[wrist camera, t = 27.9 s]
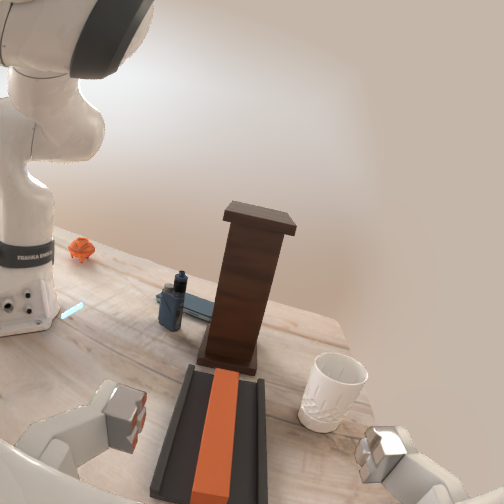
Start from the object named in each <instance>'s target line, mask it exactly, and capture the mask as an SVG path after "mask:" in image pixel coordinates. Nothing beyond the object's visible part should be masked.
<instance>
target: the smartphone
mask: <svg viewBox="0 0 504 504" xmlns="http://www.w3.org/2000/svg"><path fill="white" fill-rule="evenodd" d="M160 299H161V293H160V294H158V295H156V300H157V301H158V302H160ZM213 308H214V303H213V302H210V301H208V300H205V299H202V298H199V297H197V296H194V295H191V294H188V293H186V292H185V300H184V307H183V312H185V313H188V314H190V315H193V316H196V317H198V318H201V319H203V320H206V321H211V318H212V313H213Z"/></svg>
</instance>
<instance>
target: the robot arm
mask: <svg viewBox="0 0 504 504" xmlns="http://www.w3.org/2000/svg"><path fill="white" fill-rule="evenodd" d="M153 10H154V0H0V66H4V67H8V94H9V97H5V98H0V337H1V336H8V335H15V334H22V333H29V332H35V331H42V330H47V329H49V328H50V326H51V323H52V319H53V318H54V317H55V316H56V315H57V314H58V313H59V310H60V304H59V301H58V298H57V294H56V290H55V285H54V278H53V266H52V265H53V264H54V238H53V218H54V207H55V200H54V196H53V194H52V192H51V191H50V189H49V188H47V187H46V186H45V185H44V184H42V183H41V182H39V181H38V180H36V179H35V178H33V177H32V176H31V175H30V174H29V172H28V169H27V163H28V162H29V161H43V162H56V163H70V162H79V161H87V160H89V159H91V158H92V157H93V156H94V155H95V154H96V152H97V151H98V150H99V148H100V146H101V144H102V142H103V139H104V134H105V124H104V120H103V117H102V115H101V113H100V112H99V110H98V109H96V108H95V107H93V106H92V105H90V104H89V103H88V102H87V100H86V99H85V98H84V96H83V95H82V93H81V91H80V87H79V84H80V79H103V78H104V77H107V76H108V75H110V74H112V73H114V72H116V71H117V69H118V67H119V66H120V65H122V64H123V63H124V62H125V61H126V60H127V59H129V58H130V57H131V56H132V55H133V53H134V52H135V51H136V50H137V49H138V47H139V46H140V45H141V43H142V42H143V40H144V38H145V36H146V34H147V32H148V30H149V27H150V25H151V21H152V17H153ZM82 307H83V303H82V302H81V303H80V304H78V305H76V306H75V307H73V308H71V309H69V310H68V311H66V312H64V313H63V314H61V318H62V319H64V318H65V317H67V316H69V315H70V314H72V313H74V312H75V311H77V310H79V309H80V308H82ZM146 398H147V393H146V392H144V391H141V390H138V389H134V388H132V387H129V386H126V385H123V384H120V383H116V382H113V381H111V380H108V379H106V380H104V381H103V382H102V384H101V385H100V387H99V388H98V390H97V391H96V393H95V394H94V396H93V398H92V399H91V401H90V402H89V404H88V405H87V406H84V405H82V406H79V407H77V408H74V409H71V410H69V411H66V412H63V413H61V414H58V415H55V416H52V417H49V418H46V419H44V420H41V421H38V422H35V423H32V424H30V425H29V427H28V428H27V429H26V430H25V432H24V433H23V435H22V436H21V437H20V439H19V440H18V441H17V443H16V444H15V445H14V446H12V445H11V444H9V443H8V442H6V441H4V440H3V439H1V438H0V504H145V503H142V502H138V501H135V500H132V499H129V498H126V497H123V496H120V495H117V494H114V493H111V492H108V491H106V490H103V489H100V488H98V487H95V486H93V485H90V484H88V483H85V482H83V481H80V479H79V476H78V473H77V470H76V468H77V467H79V466H81V465H82V464H84V463H86V462H87V461H89V460H91V459H92V458H94V457H96V456H97V455H99V454H101V453H102V452H104V451H105V450H107V449H109V447H111V448H114V449H117V450H120V451H123V452H127V453H130V454H133V451H134V449H135V446H136V444H137V441H138V434H139V433H141V431H142V428H143V425H144V422H145V417H146V408H145V407H144V405H145V402H146ZM355 459H356V463H357V464H359V465H360V466H361V468H360V470H359V473H360V476H361V480H362V483H381V484H382V485H383V486H384V487H385V488H386V489H387V490H388V491H389V492H390V493H391V494H392V495H393V496H394V497H395V498H396V499H397V500H398V501H399V502H400V503H401V504H504V486H502V487H500V488H497V489H495V490H492V491H490V492H487V493H484V494H481V495H479V496H476V497H473V498H469V496H468V494H467V492H466V490H465V488H464V486H463V484H462V482H461V480H460V479H459V478H458V477H456V476H454V475H453V474H452V473H450V472H449V471H447V470H446V469H444V468H442V467H441V466H439V465H438V464H437V463H435V462H434V461H432V460H431V459H430V458H428V457H426V456H425V455H424V454H422V453H418V451H417V449H416V447H415V445H414V443H413V441H412V439H411V437H410V435H409V433H408V431H407V429H406V428H405V427H404V426H382V427H381V426H371V427H369V428H368V429H367V430H366V432H365V438H363V439H362V440H360V441H359V443H358V444H357V446H356V450H355Z"/></svg>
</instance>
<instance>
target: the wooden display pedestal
mask: <svg viewBox="0 0 504 504" xmlns="http://www.w3.org/2000/svg"><path fill="white" fill-rule="evenodd" d="M223 221H227V222H231V224H230V229H229V233H228V238H227V243H226V248H225V253H224V257H223V263H222V267H221V272H220V277H219V283H218V287H217V292H216V297H215V302H214V308H213V313H212V318H211V323H210V325H207V327H206V331H205V334H204V337H203V340H202V344H201V347H200V350H199V354H198V357H197V363H196V364H198V365H202V366H207V367H211V368H219V369H224V370H229V371H234V372H239V373H241V374H246V375H252V376H255V374H256V371H257V338H258V335H259V331H260V327H261V323H262V320H263V316H264V312H265V308H266V305H267V301H268V297H269V293H270V289H271V285H272V281H273V277H274V273H275V270H276V266H277V262H278V258H279V254H280V250H281V246H282V242H283V238H284V234H286V235H291V236H294V235H295V231H296V227H297V226H296V224H295V223H294V222H293V220H292V219H291V218H290V216H289V215H288V214H287V213H285V212H281V211H277V210H273V209H268V208H263V207H259V206H255V205H250V204H246V203H241V202H236V201H232V202H231V203H230V204H229V206H228V207H227V208H226V210H225V212H224V217H223Z"/></svg>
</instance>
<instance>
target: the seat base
mask: <svg viewBox="0 0 504 504" xmlns="http://www.w3.org/2000/svg"><path fill="white" fill-rule="evenodd" d="M194 369H195V365H191V364H189V365H188V368H187V371H186V375H185V378H184V381H183V384H182V387H181V390H180V393H179V396H178V399H177V402H176V405H175V408H174V412H173V415H172V418H171V421H170V424H169V427H168V430H167V434H166V437H165V440H164V443H163V446H162V450H161V453H160V456H159V459H158V463H157V466H156V469H155V472H154V476H153V479H152V482H151V486H150V497H153V498H157V499H160V500H164V501H168V502H173V503H177V504H191V503H190V500H191V494H192V489H193V483H194V478H195V472H196V467H197V462H198V456H199V451H200V446H201V441H202V435H203V430H204V425H205V420H206V414H207V409H208V404H209V399H210V394H211V389H212V384H213V379H214V375H213V374H208V373H203V372H199V371H195V370H194ZM226 504H268V488H267V451H266V417H265V385H264V379H260V378H258V381H257V383H254V382H248V381H243V380H239V381H238V393H237V405H236V417H235V429H234V441H233V454H232V466H231V478H230V491H229V498H228V501H227V503H226Z"/></svg>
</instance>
